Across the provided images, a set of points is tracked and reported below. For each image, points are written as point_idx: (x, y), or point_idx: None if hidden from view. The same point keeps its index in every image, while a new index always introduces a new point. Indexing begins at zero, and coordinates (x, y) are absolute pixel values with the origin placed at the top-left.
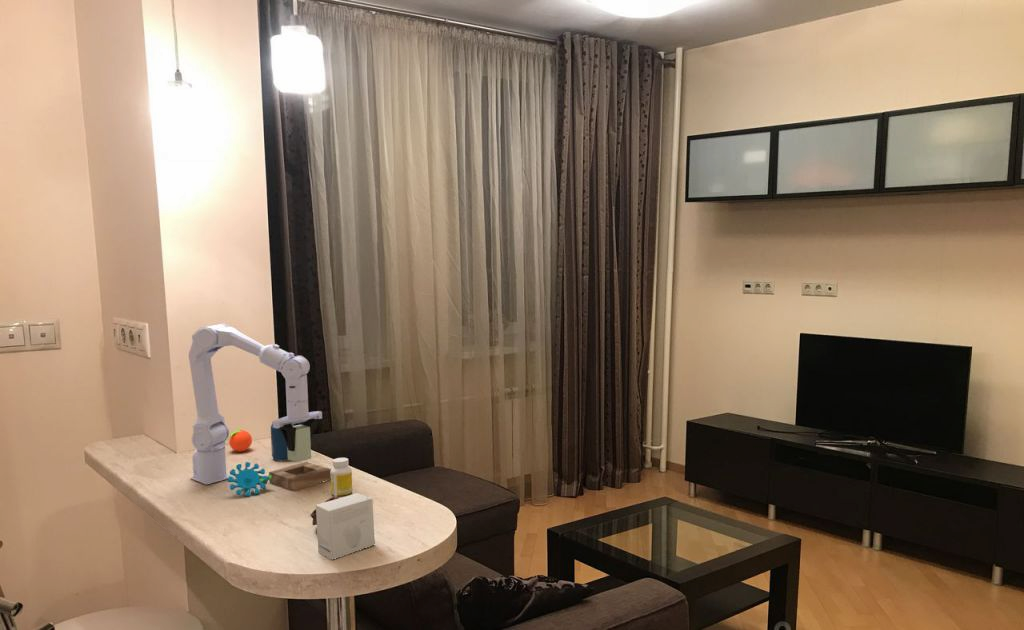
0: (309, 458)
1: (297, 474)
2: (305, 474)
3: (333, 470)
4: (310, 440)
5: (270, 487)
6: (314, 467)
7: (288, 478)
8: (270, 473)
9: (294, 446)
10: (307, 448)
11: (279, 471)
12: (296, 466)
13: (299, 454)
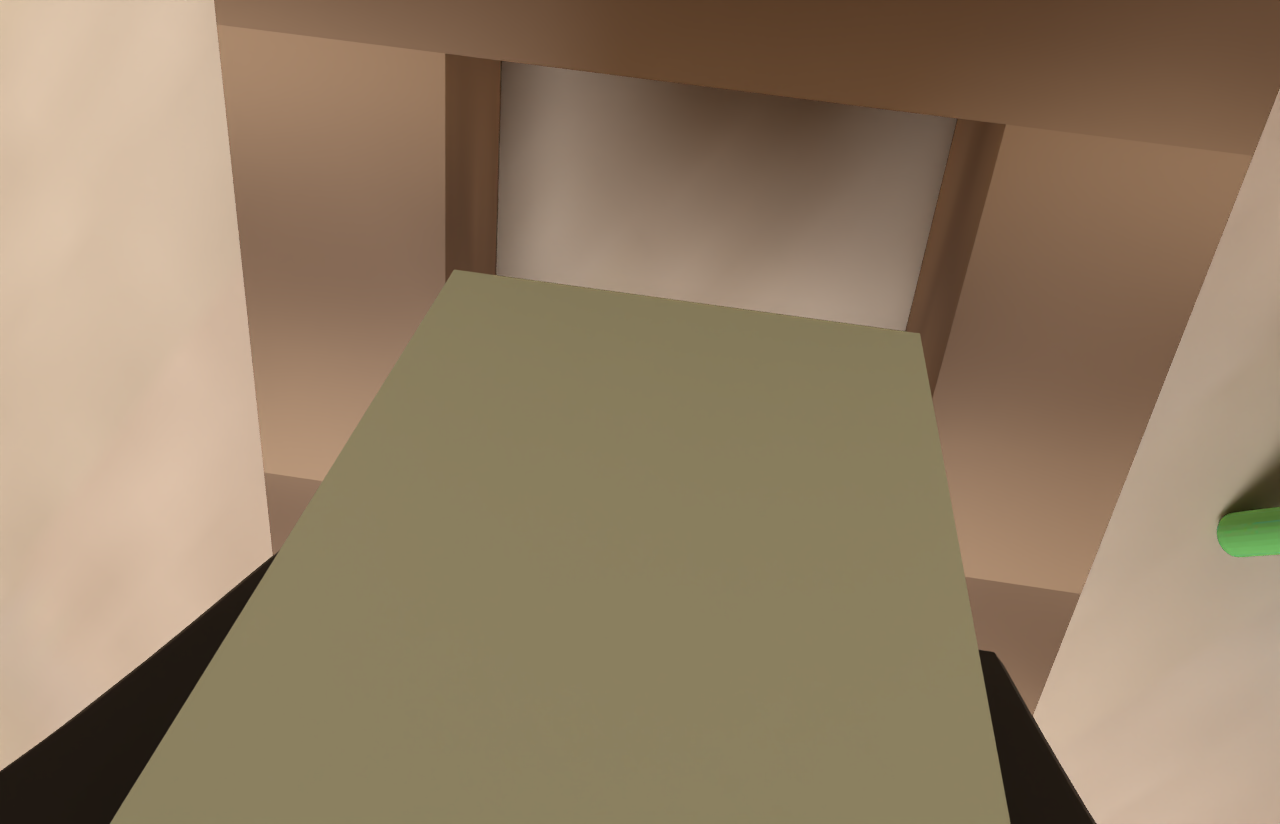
0: (505, 283)
1: None
2: (845, 5)
3: None
4: (181, 675)
5: (1202, 428)
6: (379, 234)
7: (1255, 136)
8: (1038, 680)
9: None
10: (489, 459)
11: None
12: None
13: (839, 432)
